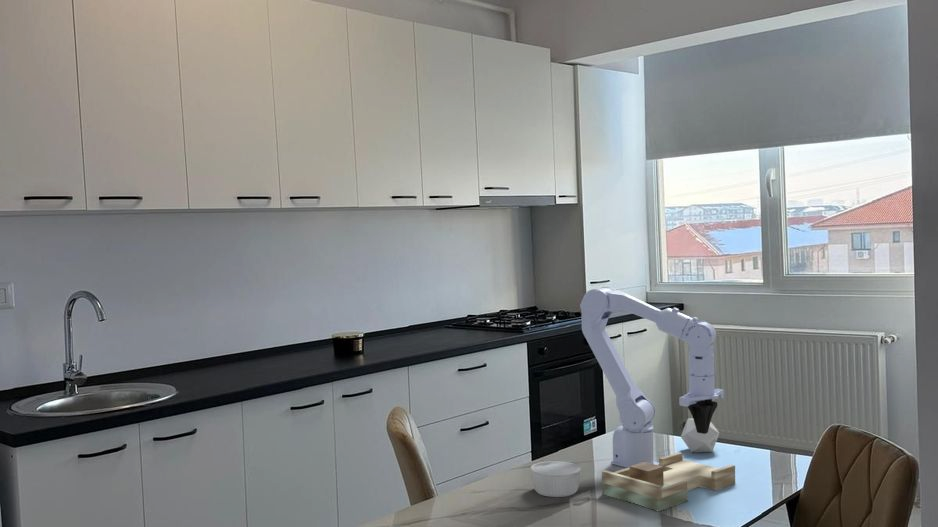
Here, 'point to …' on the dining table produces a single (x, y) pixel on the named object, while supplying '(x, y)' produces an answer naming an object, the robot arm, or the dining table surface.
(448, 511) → the dining table surface
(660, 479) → the walnut block
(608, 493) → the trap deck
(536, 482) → the ramekin
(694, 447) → the die
